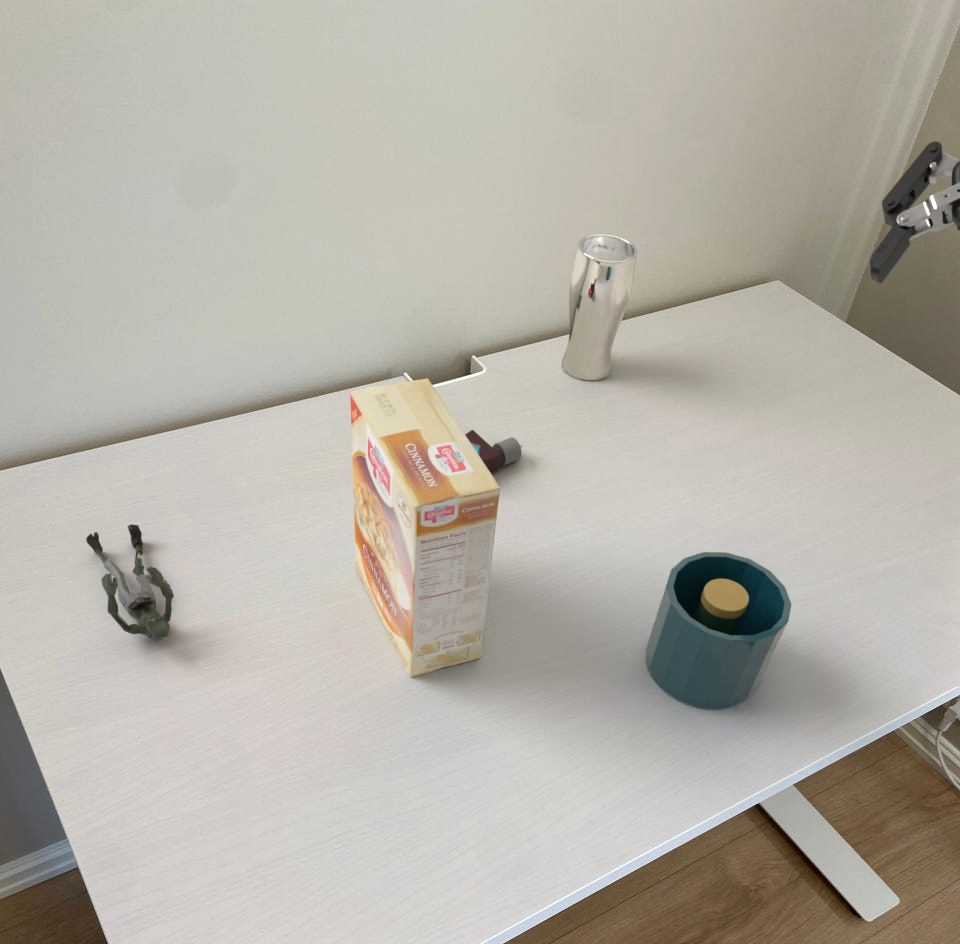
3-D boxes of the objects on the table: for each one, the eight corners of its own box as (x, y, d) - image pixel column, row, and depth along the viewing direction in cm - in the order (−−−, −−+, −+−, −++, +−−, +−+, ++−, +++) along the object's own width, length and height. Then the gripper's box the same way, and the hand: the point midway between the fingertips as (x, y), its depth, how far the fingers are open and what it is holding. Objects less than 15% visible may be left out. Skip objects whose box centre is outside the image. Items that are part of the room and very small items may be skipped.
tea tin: (726, 648, 87) (752, 585, 81) (719, 678, 84) (745, 616, 78) (685, 635, 87) (708, 573, 81) (677, 665, 85) (699, 602, 79)
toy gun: (531, 463, 104) (536, 426, 100) (439, 500, 98) (441, 462, 95) (478, 416, 109) (482, 379, 105) (388, 449, 103) (388, 411, 100)
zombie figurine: (131, 484, 86) (179, 597, 78) (143, 540, 91) (189, 652, 83) (69, 498, 84) (111, 615, 76) (84, 555, 89) (126, 670, 81)
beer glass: (624, 364, 118) (649, 246, 107) (598, 390, 114) (621, 269, 103) (574, 344, 120) (594, 226, 109) (547, 368, 116) (565, 248, 105)
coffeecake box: (352, 565, 91) (346, 389, 77) (422, 548, 93) (430, 374, 79) (407, 680, 82) (413, 506, 68) (483, 659, 85) (504, 486, 70)
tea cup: (765, 641, 89) (797, 572, 82) (749, 724, 82) (782, 655, 75) (658, 609, 90) (680, 539, 84) (634, 688, 84) (656, 618, 77)
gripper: (977, 47, 71) (837, 239, 74) (1170, 112, 65) (1009, 320, 68) (977, 110, 78) (849, 284, 80) (1153, 174, 71) (1007, 361, 74)
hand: (922, 300), depth 74 cm, fingers open, 8 cm apart
